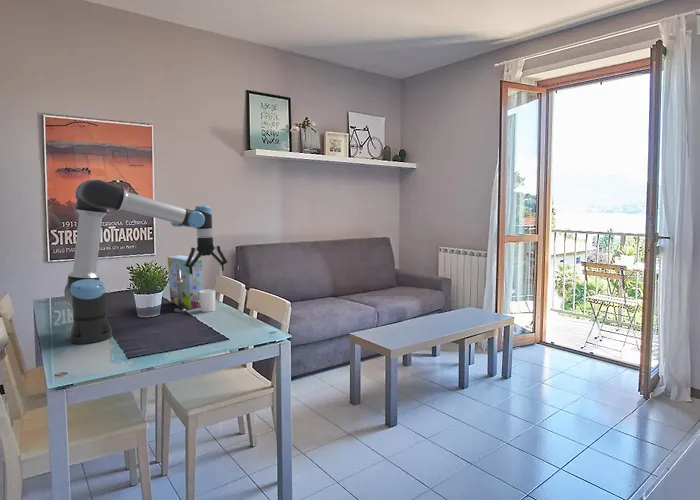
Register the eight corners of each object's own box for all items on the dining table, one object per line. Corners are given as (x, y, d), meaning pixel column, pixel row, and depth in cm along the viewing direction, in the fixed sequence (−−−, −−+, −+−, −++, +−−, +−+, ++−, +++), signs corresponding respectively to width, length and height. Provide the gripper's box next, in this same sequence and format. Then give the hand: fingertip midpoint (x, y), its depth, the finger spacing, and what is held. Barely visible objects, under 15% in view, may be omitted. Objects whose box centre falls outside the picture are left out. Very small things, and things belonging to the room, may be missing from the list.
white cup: (219, 309, 230) (218, 290, 228) (207, 313, 223) (206, 293, 222) (208, 307, 234) (208, 288, 233) (196, 311, 227) (195, 291, 226)
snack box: (168, 303, 244) (166, 256, 241) (183, 300, 250) (181, 254, 247) (190, 309, 230) (187, 259, 227) (205, 306, 236) (203, 258, 233)
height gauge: (188, 311, 226) (186, 270, 224) (175, 313, 223) (173, 271, 221) (185, 309, 231) (183, 268, 229) (173, 310, 228) (171, 269, 226)
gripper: (227, 234, 234) (229, 275, 236) (177, 237, 221) (179, 280, 223) (232, 235, 227) (234, 277, 230) (180, 239, 214) (182, 283, 217)
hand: (207, 279), depth 227 cm, fingers open, 13 cm apart
